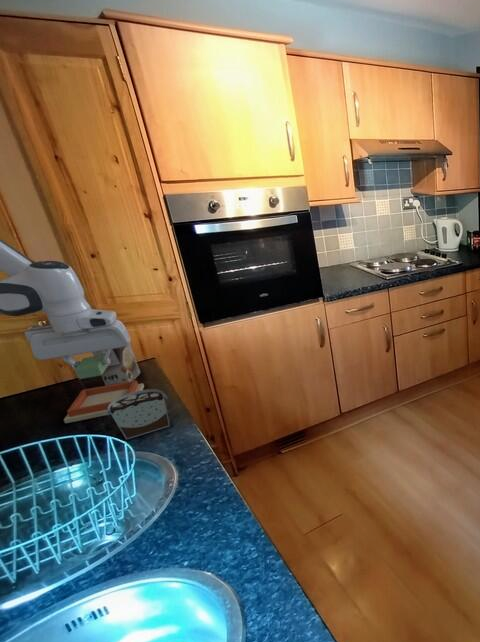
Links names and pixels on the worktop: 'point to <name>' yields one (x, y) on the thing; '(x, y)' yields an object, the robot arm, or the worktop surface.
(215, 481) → the worktop surface
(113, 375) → the coffee box
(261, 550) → the worktop surface
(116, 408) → the food container
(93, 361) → the green pad
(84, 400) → the orange tray
